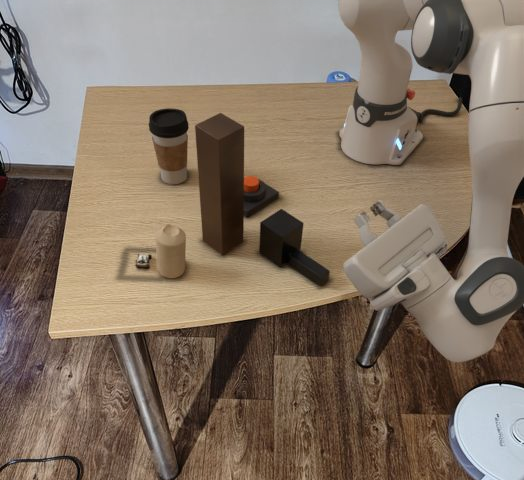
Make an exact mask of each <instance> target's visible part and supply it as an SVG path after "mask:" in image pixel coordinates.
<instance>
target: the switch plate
mask: <svg viewBox="0 0 524 480" xmlns="http://www.w3.org/2000/svg"><path fill="white" fill-rule="evenodd" d="M258 180H259V189H258V190H257V191H256V192H246V191H244V217H245V218H249V217H251V216H252V215H254V214H256V213H257V212H259V211H260V210H262V209H264V208H265V207H266V206H268V205H270V204H271V203H274V201H276V200H278V199H279V197H280V195H279V194H280V191H279V190H276V188H273V187H272V186H271V185H269V184H267V183H266V182H264V181H263V180H262V179H259V178H258Z"/></svg>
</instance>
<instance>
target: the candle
mask: <svg viewBox="0 0 524 480" xmlns="http://www.w3.org/2000/svg"><path fill="white" fill-rule="evenodd" d="M186 246H187V234H186V232H185V231H184V229H182V228H180V227H179V226H177V225H172V224H170V223H168V224H165V225H164V226H162V227H160V228H159V229H158V230H157V231H156V232H155V250H156V251H155V253H156V269H157V272H158V274H159V275H161V276H162V277H163V278H167V279H175V278H179V277H181V276H183V274H184V272H185V270H186V251H187V250H186Z"/></svg>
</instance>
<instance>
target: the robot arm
mask: <svg viewBox="0 0 524 480" xmlns="http://www.w3.org/2000/svg"><path fill="white" fill-rule="evenodd" d="M337 9H338V14H339V17H340V20H341V22H342V23H343V25H344V26H345V27H346V29H347V30H349V31H350V32H351V33H352V35H354V37H355V39H356V40H357V42H358V45H359V49H360V69H359V77H358V84H357V86H356V88H355V91H354V94H353V98H352V104H351V105H350V106H349V107H348V111H347V114H346V119H345V122H344V124H343V128H340V130H339V133H338V135H339V138H340V139H341V141H340V148H341V150H342V152H343V153H344V154H345V156H347V157H349V158H350V159H351V160H353V161H355V162H359V163H361V164H365V165H366V164H367V165H393V166H400V165H402V164H403V163H404V161H405V160H406V159H407V158H408V157H409V156H410V155H411V154H412V153H413V151H414V150H415V149H416V147H417V146H419V144H420V143H421V142H422V141H423V138H424V134H423V133H422V131H420V130H419V128H417V126H418V125H419V123H422V122H423V119H424V117H425V115H426V114H436V115H440V116H445V117H451V116H455V115H457V114H458V113H459V112H460V111H461V109H462V105H463V101H464V100H463V97H462V96H460V97H459V98H458V101H457V107H456V108H455V110H453V111H444V110H439V109H434V108H427V109H424V110H423V111H422V112H419V111H417V110H415V109H413V108H411V107H410V106H408V100H409V101H412V100H414V98H415V96H416V91H415V90H411V89H410V88H408V86H409V83H410V79H411V76H412V72H413V65H414V64H413V59H412V56H413V58H414V60H415V62H416V63H417V65H418V66H420V67H421V68H423V69H426V70H428V71H431V72H434V73H437V74H438V73H439V74H448V75H452V74H457V75H466V76H469V79H470V82H471V89H470V97H469V108H468V121H467V122H468V123H467V124H468V125H467V135H468V141H467V142H468V153H469V165H470V173H471V187H472V193H471V196H472V197H471V208H470V219H469V228H468V238H467V245H466V249H465V252H464V253H463V256H462V257H461V259H460V261H459V263H458V265H457V267H456V269H455V272H454V275H453V277H452V275H451V274H450V272H449V270H448V269H447V268H446V266H445V265H444V264H443V263H442V261H441V260H440V258H441V257H442V256H444V255H446V253H447V251H448V243H449V242H448V238H447V237H446V236H445V232H444V229H443V227H442V226H441V224H440V222H439V220H438V218H437V217H436V215H435V213H434V212H433V210H432V209H431V207H430V206H429V205H427V204H424V203H420V204H419V205H417V206H416V207H415V208H413V209H412V210H410V211H409V213H407V214H405V215H404V216H403V217H402V216H401V215H400V214H399V213H398V212H397V211H395V210H393V209H391V208H389V207H387V206H386V204H385V203H384V201H383V200H382V199H379V200H377V201H375V203H373V204H372V205H371V206H370V207H369V209H370V211H371V212H372V214H373V216H375V217H377V216H380V217H381V218H383V219H384V220H386V221H385V224H386V225H387V227H388V228H387V229H386V230H385V231H383V232H382V233H381V234H379V235H377V234H376V233H375V231H371V227H370V224H369V222H370V221H371V217H370V216H369V215H368V214H367V212H366V211H362V212H360V213H359V214H358V215H357V216H355V217H354V218H353V222H354V223H355V225H356V226H357V227H358V231H359V239H360V241H361V243H362V244H363V247H362V248H361V249H360V250H359V251H357V252H356V253H354V254H353V255H352V256H350V257H349V258H348V259H347V260H345V261H344V262H343V264H342V269H343V273H344V275H345V276H346V278H347V279H348V280H349V281H350V283H351V284H352V285H353V287H354V288H355V289H356V290H357V292H358V293H360V294H361V295H362V296H363V297H364V298H366V299H370V306H371V307H372V308H373V309H374V311H382V310H385V309H387V308H390V307H393V306H396V305H400V304H401V305H402V306H403V308H404V309H405V310H406V311H407V312H408V313H409V314H411V316H413V317H414V319H415V320H416V321H417V325H418V327H419V329H420V331H421V332H422V333H423V335H424V336H425V337H426V339H427V340H428V341H429V342H430V344H431V345H432V346H433V347H434V348H435V349H436V350H437V352H438V353H439V354H441V355H442V357H444V358H445V359H446V360H447V361H449V362H453V363H458V364H461V363H467V362H471V361H473V360H477V359H478V358H482V357H483V356H485V355H486V354H488V353H489V352H490V351H491V350H492V349H493V348H494V347H495V344H496V340H497V338H498V336H499V334H500V332H501V331H502V329H503V328H504V326H505V325H506V323H507V322H508V321H509V319H511V317H512V316H513V315H514V314H515V313H516V312H517V311H518V310H519V309H520V308H522V307H523V306H524V264H523V263H522V262H521V261H519V260H518V259H515V258H512V257H510V256H509V252H508V239H509V231H510V222H511V215H512V206H513V201H514V197H515V194H516V191H517V189H518V187H519V185H520V183H521V181H522V180H523V178H524V0H337ZM402 31H403V32H404V31H411V35H410V36H411V38H410V49H411V52H412V53H410V52H409V50H408V49H406V48H405V47H404V46H402V45H401V44H399V43H397V42H396V36H397V33H398V32H402ZM411 54H412V55H411Z"/></svg>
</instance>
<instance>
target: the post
mask: <svg viewBox="0 0 524 480" xmlns="http://www.w3.org/2000/svg"><path fill="white" fill-rule="evenodd" d="M194 130H195V131H194V132H195V144H196V145H195V146H196V160H197V176H198V189H199V190H198V191H199V203H200V205H199V206H200V219H201V220H200V221H201V235H202V242H203V243H205V244H206V245H207V246H208V247H210V248H211V249H212V250H214V251H216V252H217V253H218V254H219V255H221V256H224V255H226V254H227V253H229V252H230V251H232V250H233V249H236V248H237V247H238V246H240V245H241V244H242V243H244V229H245V228H244V225H245V224H244V221H245V220H244V217H245V216H244V178H245V126H244V125H243V124H241V123H240V122H237V121H236V120H234V119H232V118H230V117H229V116H227V115H225V114H224V113H222V112H219V113H217V114H215V115H213V116H211V117H209V118H207V119H205V120H203V121H201V122H199V123H196V124H195V125H194Z"/></svg>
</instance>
